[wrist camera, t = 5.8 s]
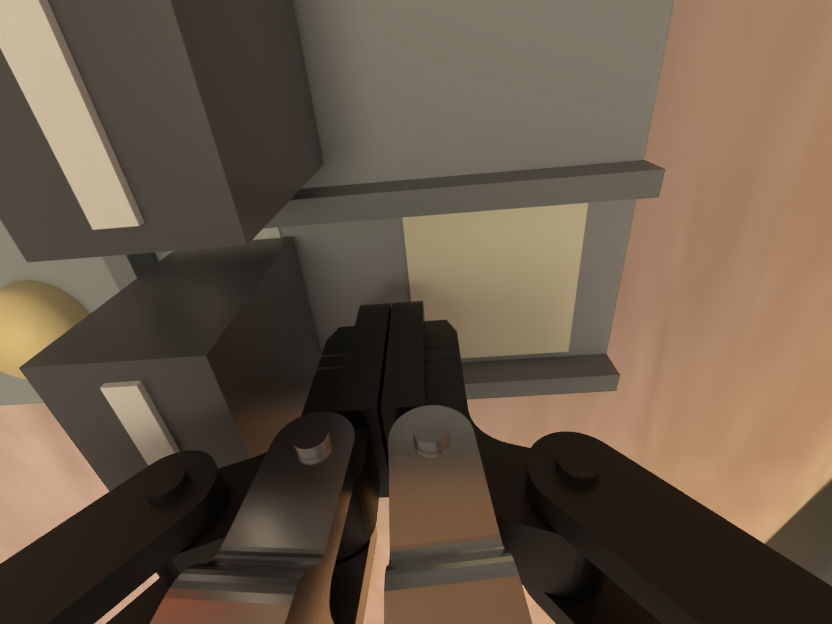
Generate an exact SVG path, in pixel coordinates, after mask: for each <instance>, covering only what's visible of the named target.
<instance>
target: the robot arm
mask: <svg viewBox="0 0 832 624" xmlns="http://www.w3.org/2000/svg"><path fill="white" fill-rule="evenodd" d="M317 368H318V371H316V373H315V376H314V379H313V382H312V385H311V388H310V391H309V394H308V397H307V400H306V403H305V406H304V409H303V412H302V415H301V417H299V418H296V419H295V420H293V421H291V422H290V423H288V424H287V425H286V426H284V427H283V428H282V429H281V430H280V431H279V432H278V434H277V435H276V436H275V438H274V439H273V441H272V443H271V445H270V447H269V449H268V451H267V452H265V453H263V454H261V455H258V456H256V457H253V458H250V459H246V460H243V461H240V462H237V463H234V464H231V465H228V466H224V467H221V468H218V466H217V464H216V462H215V460H214V459H213V458H212V456H210V455H209V454H207V453H205V452H202V451H197V450H188V451H181V452H177V453H173V454H171V455H168V456H165V457H163V458H161V459H159V460H157V461H156V462H154V463H152V464H151V465H149V466H147V467H146V468H144V469H143V470H141V471H140V472H138V473H137V474H135V475H134V476H132V477H131V478H129V479H128V480H126V481H125V482H123V483H122V484H120V485H119V486H117V487H116V488H114V489H113V490H111V491H110V492H108V493H107V494H105V495H104V496H102V497H101V498H99V499H98V500H96V501H95V502H93V503H92V504H90V505H89V506H87V507H86V508H84V509H83V510H81V511H80V512H78V513H77V514H75V515H74V516H72V517H70V518H69V519H67V520H66V521H64V522H63V523H61V524H60V525H58V526H57V527H55V528H54V529H52V530H51V531H49V532H48V533H46V534H45V535H43V536H42V537H40V538H39V539H37V540H36V541H34V542H33V543H31V544H30V545H28V546H27V547H25V548H24V549H22V550H21V551H19V552H18V553H16V554H15V555H13V556H12V557H10V558H9V559H7V560H6V561H4V562H3V563H1V564H0V624H94V623H96V622H97V621H98V620H99V619H100V618H102V617H103V616H104V615H105V614H106V613H108V612H109V611H110V610H111V609H112V608H114V607H115V606H116V605H117V604H118V603H120V602H121V601H122V600H123V599H124V598H126V597H127V596H128V595H129V594H130V593H132V592H133V591H134V590H135V589H136V588H138V587H139V586H140V585H141V584H142V583H144V582H145V581H146V580H147V579H148V578H150V577H151V576H152V575H153V574H154V573H157V574H158V576H159V577H160V578H159V579H158V580H157V581H156V582H154V583H153V584H152V585H151V586H150V587H149V588H147V589H146V590H145V591H144V592H143V593H141V594H140V595H139V596H138V597H137V598H136V599H134V600H133V601H132V602H131V603H130V604H128V605H127V606H126V607H125V608H124V609H123V610H121V611H120V612H119V613H118V614H117V615H115V616H114V617H113V618H112V619H111V620H110V621H108V622H107V623H106V624H363V621H364V615H365V609H366V603H367V597H368V590H369V584H370V578H371V572H372V566H373V560H374V554H375V548H376V542H377V528H376V521H377V511H378V500H379V498H380V497H389V524H390V560H389V565H387V567H386V571H385V585H384V624H532V621H531V617H530V613H529V609H528V606H527V602H526V598H525V595H524V591H523V587H522V585H524V587H525V589H526V590H527V592H528V594H529V595H530V596H531V597H532V598H533V600H534V601H535V602H536V603H537V604H538V605H539V606H540V607H541V608H542V609H543V610H544V611H545V612H546V613H547V615H548V616H549V617H550V618H551V619H552V620H553V621H554V622H555V623H556V624H832V586H830V585H829V584H827V583H825V582H824V581H822V580H821V579H819V578H818V577H816V576H814V575H813V574H811V573H810V572H808V571H807V570H805V569H803V568H802V567H800V566H799V565H797V564H795V563H794V562H792V561H791V560H789V559H788V558H786V557H784V556H783V555H781V554H779V553H778V552H776V551H775V550H773V549H772V548H770V547H768V546H767V545H765V544H764V543H762V542H761V541H759V540H757V539H756V538H754V537H753V536H751V535H749V534H748V533H746V532H745V531H743V530H742V529H740V528H738V527H737V526H735V525H734V524H732V523H730V522H729V521H727V520H726V519H724V518H723V517H721V516H719V515H718V514H716V513H715V512H713V511H711V510H710V509H708V508H707V507H705V506H703V505H702V504H700V503H699V502H697V501H696V500H694V499H692V498H691V497H689V496H688V495H686V494H684V493H683V492H681V491H680V490H678V489H677V488H675V487H673V486H672V485H670V484H669V483H667V482H665V481H664V480H662V479H661V478H659V477H657V476H656V475H654V474H653V473H651V472H650V471H648V470H646V469H645V468H643V467H642V466H640V465H638V464H637V463H635V462H634V461H632V460H631V459H629V458H627V457H626V456H624V455H623V454H621V453H619V452H618V451H616V450H615V449H613V448H612V447H610V446H608V445H607V444H605V443H603V442H602V441H600V440H598V439H596V438H593V437H591V436H589V435H585V434H581V433H576V432H556V433H552V434H548V435H546V436H544V437H542V438H540V439H539V440H537V441H536V442H535V443H534V444H533V446H532V447H531V448H527V447H523V446H518V445H514V444H509V443H505V442H502V441H499V440H496V439H494V438H492V437H490V436H488V435H487V434H485V433H484V432H482V431H481V430H480V429H479V428H478V427H477V426H476V425H475V424H474V422H473V421H472V419H471V417H470V415H469V411H468V406H467V399H466V392H465V384H464V377H463V370H462V363H461V356H460V349H459V342H458V335H457V331H456V330H455V329H454V327H453V326H452V325H451V324H450V323H449V322H448V321H447V320H432V321H425V316H424V305H423V301H409V302H395V303H393V304H392V305H391V303H382V304H368V305H360V307H359V311H358V315H357V319H356V323H355V326H345V327H339V328H338V329H337V330H336V331H335V332H334V333H333V334H332V335H331V336H330V337H329V338H328V339H327V340H326V343H325V346H324V349H323V352H322V358H320V361H319V364H318V367H317Z"/></svg>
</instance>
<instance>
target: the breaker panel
mask: <svg viewBox="0 0 832 624" xmlns="http://www.w3.org/2000/svg"><path fill="white" fill-rule="evenodd" d="M292 1H293V7H294V12H295V17H296V22H297V28H298V33H299V38H300V43H301V48H302V54H303V59H304V64H305V69H306V75H307V80H308V85H309V90H310V96H311V101H312V106H313V111H314V117H315V122H316V127H317V132H318V137H319V143H320V148H321V153H322V158H323V164H324V165H323V166H322V167H321V168H320V169H319V170H318V171H317V172H316V173H315V174H314V175H313V177H312V178H311V179H310V180H309V181H308V182H307V183H306V184H305V185H304V186H303V187H302V188H301V189H300V190H299V191H298V192H297V193H296V194H295V195H294V197H293V198H292V199H291V200H290V201H289V202H288V203H287V204H286V205H285V206H284V207H283V208H282V209H281V210H280V211H279V212H278V213H277V214H276V216H275V217H274V218H273V219H272V220H271V221H270V222H269V223H268V224H267V225H266V226H265V227H264V228H263V229H262V230H261V231H260V232H259V233H258V234H257V236H256V237H255V238H254V239H253V240H266V239H279V238H291V237H292V238H293V242H294V246H295V250H296V254H297V258H298V262H299V266H300V269H301V273H302V277H303V281H304V285H305V289H306V293H307V297H308V301H309V305H310V309H311V313H312V317H313V321H314V325H315V329H316V333H317V337H318V341H319V345H320V349H321V353H322V352H323V349H324V346H325V343H326V340H327V339H328V338H329V337H330V336H331V335H332V334H333V333H334V332H335V331H336V330H337V329H338V328H339V327H345V326H355V323H356V319H357V315H358V311H359V307H360V305H368V304H382V303H391V305H392V304H393V303H395V302H409V301H423V305H424V316H425V321H432V320H447V321H448V322H449V323H450V324H451V325H452V326H453V327H454V329H455V330H456V331H457V335H458V342H459V349H460V356H461V363H462V370H463V377H464V384H465V392H466V399H482V398H499V397H516V396H533V395H551V394H568V393H585V392H603V391H616V390H617V386H618V381H619V377H620V374H619V373H618V371H617V370H616V368H615V367H614V365H613V363H612V362H611V360H610V359H609V357H608V356H607V354H606V353H607V347H608V342H609V337H610V332H611V327H612V321H613V316H614V311H615V306H616V300H617V295H618V290H619V285H620V280H621V274H622V269H623V264H624V259H625V254H626V248H627V243H628V238H629V233H630V227H631V222H632V217H633V212H634V207H635V201H636V199H641V198H653V197H659V195H660V190H661V186H662V181H663V177H664V172H665V169H664V168H661V167H659V166H656V165H654V164H652V163H649V162H647V161H645V160H644V155H645V149H646V144H647V139H648V134H649V128H650V123H651V118H652V113H653V108H654V102H655V97H656V92H657V87H658V82H659V76H660V71H661V66H662V61H663V55H664V50H665V45H666V40H667V35H668V29H669V24H670V19H671V14H672V9H673V3H674V0H292ZM253 240H252V241H253ZM171 252H172V251H168V252H155V253H142V254H129V255H116V256H104V257H91V258H78V259H65V260H52V261H39V262H26V260H25V258H24V257H23V255H22V254H21V252H20V250H19V249H18V247H17V245H16V244H15V242H14V241H13V239H12V237H11V236H10V234H9V233H8V231H7V229H6V228H5V226H4V225H3V223H2V221H1V220H0V406H1V405H17V404H34V403H44V402H43V400H42V399H41V398H40V396H39V395H38V394H37V392H36V391H35V390H34V388H33V387H32V386H31V384H30V383H29V381H28V380H27V379H26V377H25V376H24V375H23V373H22V372H21V371H20V369H19V367H21V366H22V365H23V364H25V363H26V362H27V361H28V360H30V359H31V358H32V357H34V356H35V355H36V354H38V353H39V352H40V351H42V350H43V349H44V348H46V347H47V346H48V345H50V344H51V343H52V342H54V341H55V340H56V339H57V338H59V337H60V336H61V335H63V334H64V333H65V332H67V331H68V330H69V329H71V328H72V327H73V326H75V325H76V324H77V323H79V322H80V321H81V320H83V319H84V318H85V317H86V316H88V315H89V314H90V313H92V312H93V311H94V310H96V309H97V308H98V307H100V306H101V305H102V304H104V303H105V302H106V301H108V300H109V299H110V298H112V297H113V296H114V295H115V294H117V293H118V292H119V291H121V290H122V289H123V288H125V287H126V286H127V285H129V284H130V283H131V282H133V281H134V280H135V279H137V278H138V277H139V276H141V275H142V274H143V273H144V272H146V271H147V270H148V269H150V268H151V267H152V266H154V265H155V264H156V263H158V262H159V261H160V260H162V259H163V258H164V257H166V256H167V255H168V254H170V253H171Z"/></svg>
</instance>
